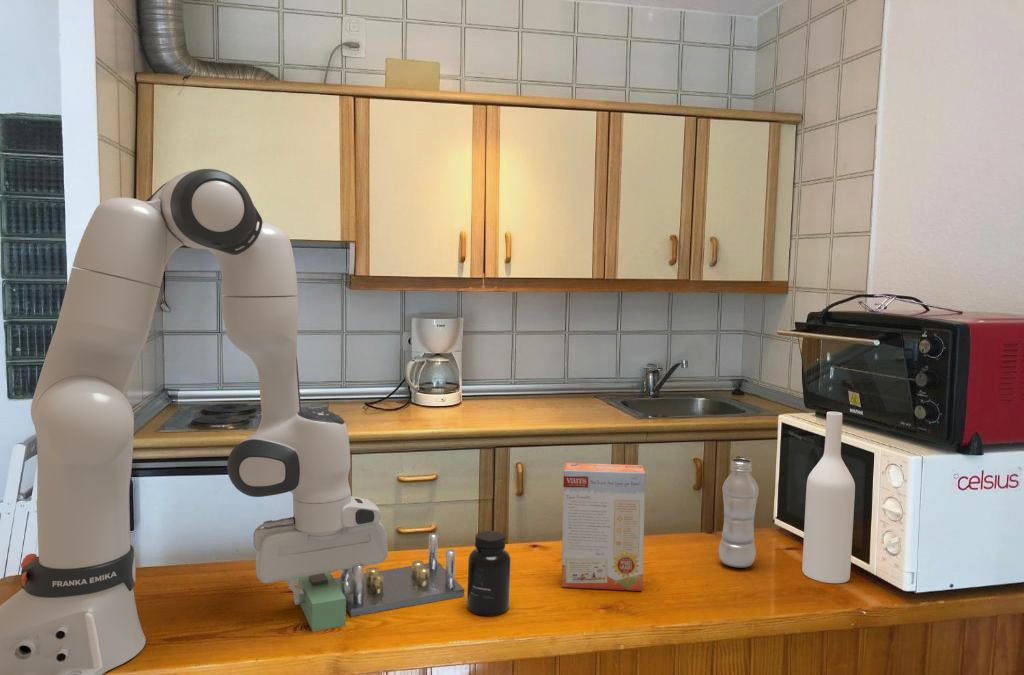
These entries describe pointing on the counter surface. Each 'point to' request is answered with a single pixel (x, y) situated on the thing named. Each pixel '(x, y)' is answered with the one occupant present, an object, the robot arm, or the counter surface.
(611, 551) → the cracker box
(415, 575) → the chassis
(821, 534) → the bottle
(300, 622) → the counter surface
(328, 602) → the green rectangular block
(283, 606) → the counter surface
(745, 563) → the plastic bottle
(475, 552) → the supplement bottle
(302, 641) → the counter surface
